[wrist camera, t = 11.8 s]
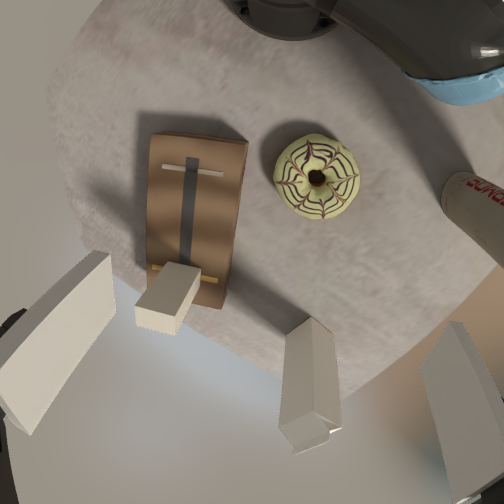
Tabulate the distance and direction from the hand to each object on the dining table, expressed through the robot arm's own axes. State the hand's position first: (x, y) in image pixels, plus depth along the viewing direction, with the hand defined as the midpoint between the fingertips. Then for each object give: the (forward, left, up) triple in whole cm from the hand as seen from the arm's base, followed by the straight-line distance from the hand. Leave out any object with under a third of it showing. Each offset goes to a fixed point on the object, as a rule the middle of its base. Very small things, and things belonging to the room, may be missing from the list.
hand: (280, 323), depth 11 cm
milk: (+27, +9, -32) cm, 43 cm away
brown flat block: (+10, -12, -32) cm, 35 cm away
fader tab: (+17, -12, -27) cm, 34 cm away
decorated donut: (0, +3, -32) cm, 32 cm away
